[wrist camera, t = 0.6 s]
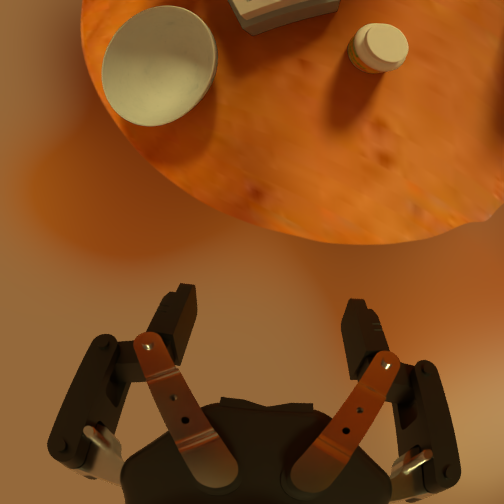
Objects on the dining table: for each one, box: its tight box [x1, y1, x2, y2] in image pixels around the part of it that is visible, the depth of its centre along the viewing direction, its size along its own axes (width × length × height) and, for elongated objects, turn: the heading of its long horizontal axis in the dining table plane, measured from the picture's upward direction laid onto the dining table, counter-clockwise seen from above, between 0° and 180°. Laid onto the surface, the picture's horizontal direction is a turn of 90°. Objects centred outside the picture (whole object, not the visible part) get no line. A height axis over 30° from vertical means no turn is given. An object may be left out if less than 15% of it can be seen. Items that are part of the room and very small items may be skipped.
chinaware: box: [102, 6, 218, 126], centre depth 26 cm, size 15×15×8 cm
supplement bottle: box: [347, 23, 408, 74], centre depth 20 cm, size 5×5×10 cm
